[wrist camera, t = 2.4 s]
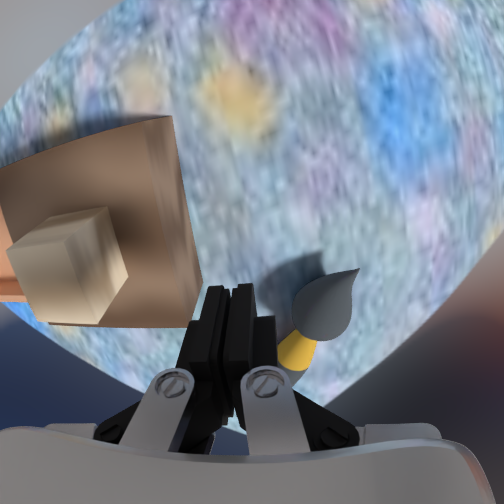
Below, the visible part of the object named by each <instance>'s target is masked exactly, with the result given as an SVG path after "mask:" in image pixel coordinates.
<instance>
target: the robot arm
mask: <svg viewBox="0 0 504 504" xmlns="http://www.w3.org/2000/svg"><path fill="white" fill-rule="evenodd" d="M234 408H235V411H236V415H237V417H238V421H239V424H240V427H241V428H242V429H244V430H245V431H246V432H247V439H248V446H249V453H250V456H230V455H229V456H227V455H210V452H211V449H212V445H213V442H214V439H215V431H216V430H218V429H219V428H221V426H222V425H227V424H228V417H233V415H234ZM0 504H496V503H495V500H494V497H493V494H492V491H491V488H490V485H489V483H488V481H487V478H486V476H485V474H484V472H483V469H482V467H481V465H480V464H479V462H478V460H477V459H476V458H475V456H474V455H473V453H472V452H471V451H470V450H469V449H467V448H466V447H465V446H463V445H461V444H459V443H456V442H452V441H447V440H442V439H441V435H440V432H439V431H438V430H437V428H436V427H434V426H432V425H430V424H426V423H413V424H366V426H365V427H355V426H353V425H352V424H351V423H349V422H347V421H346V420H344V419H342V418H341V417H339V416H337V415H335V414H334V413H332V412H330V411H328V410H326V409H325V408H323V407H321V406H320V405H318V404H316V403H315V402H313V401H311V400H310V399H308V398H306V397H305V396H303V395H301V394H300V393H298V392H297V391H295V390H293V389H292V386H291V382H290V379H289V377H288V375H287V373H285V372H284V371H283V370H282V369H280V368H279V366H278V347H277V333H276V321H275V316H262V317H257V311H256V303H255V295H254V287H253V283H246V284H238V288H233V290H232V296H230V291H229V289H224V286H223V285H219V286H209V287H208V289H207V293H206V297H205V300H204V304H203V308H202V311H201V315H200V319H199V320H191V321H189V324H188V327H187V330H186V333H185V337H184V340H183V343H182V347H181V350H180V353H179V357H178V360H177V364H176V367H175V368H171V369H166V370H164V371H162V372H160V373H159V374H157V375H156V376H155V377H154V379H153V380H152V381H151V383H150V385H149V387H148V389H147V391H146V393H145V394H144V396H143V398H142V400H140V401H139V402H137V403H135V404H134V405H132V406H130V407H128V408H127V409H125V410H123V411H122V412H120V413H118V414H116V415H114V416H113V417H111V418H109V419H107V420H105V421H104V422H102V423H101V424H100V425H99V426H96V425H95V424H94V423H93V424H92V423H91V424H50V425H48V426H46V427H44V428H38V427H25V426H22V427H11V428H7V429H4V430H1V431H0Z"/></svg>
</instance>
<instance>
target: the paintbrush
mask: <svg viewBox="0 0 504 504" xmlns="http://www.w3.org/2000/svg"><path fill="white" fill-rule="evenodd" d="M359 269H360V268H358V269H355V270H349V271H343V272H337V273H333V274H329V275H326V276H323V277H320V278H318V279H316V280H314V281H312V282H310V283H308V284H307V285H305V286H304V287H303V288H301V289H300V290H299V292H298V293H297V294H296V296H295V298H294V300H293V304H292V319H293V322H294V325H295V327H296V329H295V330H294V331H293V332H292V333H290V334H289V335H288V336H287V337H286V338H285V339H284V340H283V341H281V342H280V343H279V344H278V346H277V347H278V366H279V368H280V369H282V370H283V371H284V372H285V373H287V375H288V377H289V379H290V382H291V386H294V385H295V383H296V382H297V381H298V380H299V379H300V378H301V377H302V375H303V374H304V373H305V371H306V370H307V369H308V367H309V365H310V363H311V360H312V357H313V354H314V351H315V347H316V344H317V341H328V340H332V339H334V338H336V337H338V336H339V335H341V334H342V333H343V332H344V331H345V330H346V328H347V327H348V325H349V322H350V319H351V314H352V296H351V292H352V285H353V282H354V280H355V278H356V276H357V274H358V272H359Z"/></svg>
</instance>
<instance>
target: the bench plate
mask: <svg viewBox="0 0 504 504" xmlns="http://www.w3.org/2000/svg"><path fill="white" fill-rule="evenodd" d="M0 206H1V209H2V213H3V216H4V219H5V222H6V225H7V228H8V231H9V234H10V237H11V240H12V242H13V244H14V243H15V242H17V241H18V240H19V239H21V238H22V237H23V236H25V235H26V234H27V233H29V232H30V231H31V230H33V229H34V228H35V227H37V226H38V225H40V224H41V223H42V222H44V221H45V220H47V219H48V218H49V217H52V216H57V215H62V214H67V213H72V212H77V211H83V210H88V209H93V208H99V207H105V206H107V207H108V211H109V214H110V218H111V222H112V225H113V229H114V232H115V236H116V239H117V242H118V246H119V249H120V252H121V255H122V258H123V262H124V265H125V268H126V271H127V274H128V278H127V279H126V281H125V282H124V284H123V285H122V287H121V288H120V290H119V291H118V293H117V294H116V296H115V298H114V299H113V301H112V302H111V304H110V305H109V307H108V308H107V310H106V312H105V313H104V315H103V316H102V318H101V319H100V321H99V323H98V324H75V323H55V322H48V323H49V325H64V326H83V327H112V328H187V327H188V324H189V321H191V320H192V316H193V313H194V310H195V306H196V303H197V300H198V297H199V293H200V290H201V287H202V284H203V279H202V275H201V270H200V266H199V261H198V256H197V252H196V247H195V242H194V237H193V232H192V227H191V222H190V217H189V212H188V207H187V202H186V196H185V191H184V186H183V180H182V174H181V169H180V163H179V157H178V151H177V145H176V139H175V132H174V126H173V119H172V116H168V117H162V118H157V119H152V120H146V121H141V122H137V123H133V124H129V125H125V126H121V127H117V128H114V129H110V130H106V131H103V132H99V133H96V134H93V135H89V136H86V137H83V138H80V139H76V140H73V141H70V142H67V143H64V144H61V145H59V146H56V147H53V148H50V149H47V150H45V151H42V152H39V153H37V154H34V155H32V156H29V157H27V158H24V159H22V160H19V161H17V162H14V163H12V164H10V165H7V166H5V167H3V168H1V169H0Z"/></svg>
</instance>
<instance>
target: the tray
mask: <svg viewBox="0 0 504 504" xmlns="http://www.w3.org/2000/svg"><path fill="white" fill-rule="evenodd" d="M12 245H13V242H12V240H11V237H10V234H9V231H8V228H7V225H6V222H5V219H4V216H3V213H2V209H1V206H0V301H1V302H28V301H27V299H26V297H25V295H24V293H23V291H22V289H21V286H20V284H19V282H18V280H17V278H16V275H15V273H14V271H13V268H12V266H11V263H10V261H9V258H8V256H7V253H6V251H5V250H7V249H8V248H9V247H10V246H12Z"/></svg>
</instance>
